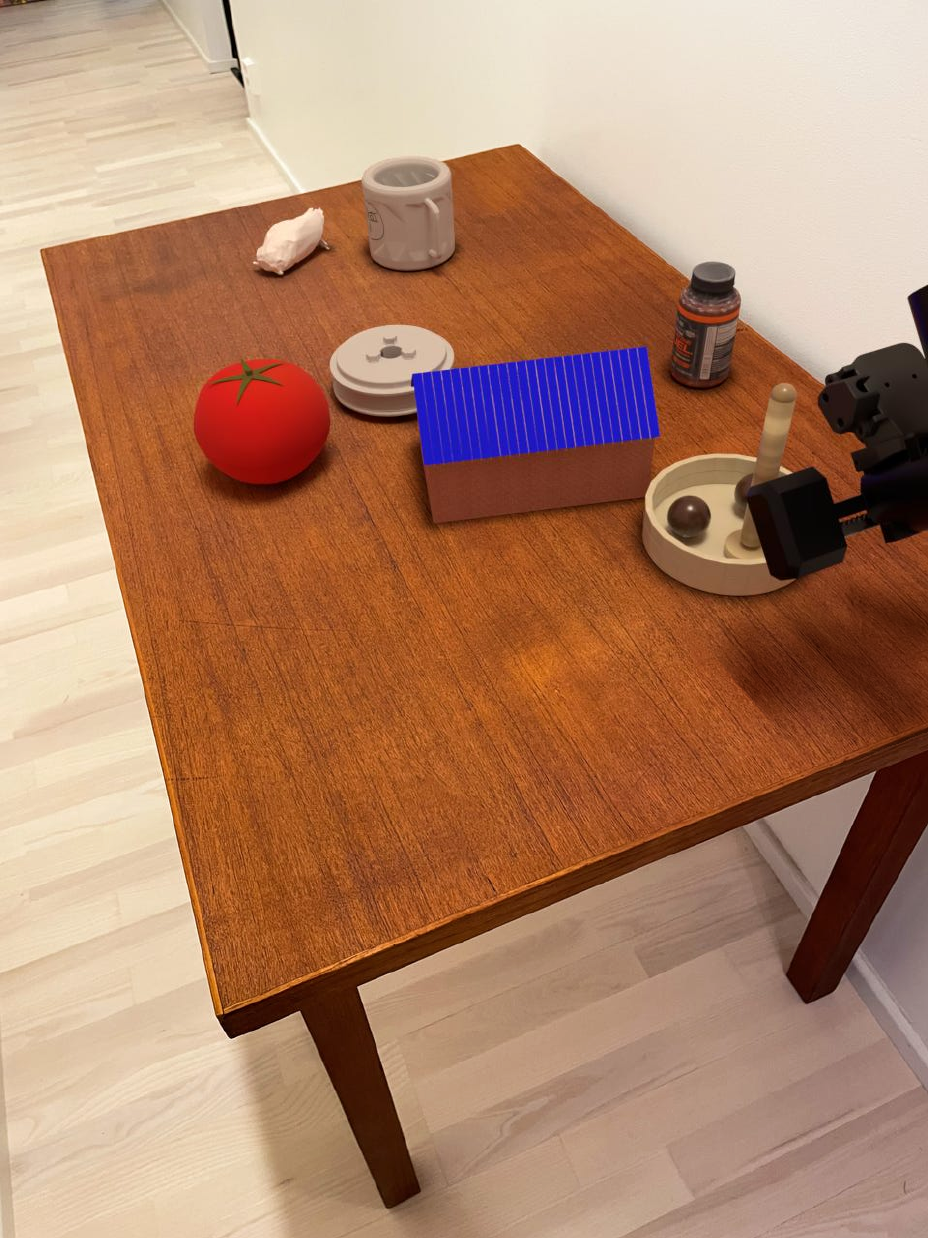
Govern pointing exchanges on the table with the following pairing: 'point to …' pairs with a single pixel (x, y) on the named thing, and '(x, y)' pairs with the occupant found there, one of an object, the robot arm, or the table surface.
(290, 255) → the pale pink lumpy figure
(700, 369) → the supplement bottle
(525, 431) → the house
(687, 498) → the bead
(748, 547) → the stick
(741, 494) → the bead
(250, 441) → the tomato
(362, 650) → the table surface
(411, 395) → the lid
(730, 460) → the bowl
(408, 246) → the mug
